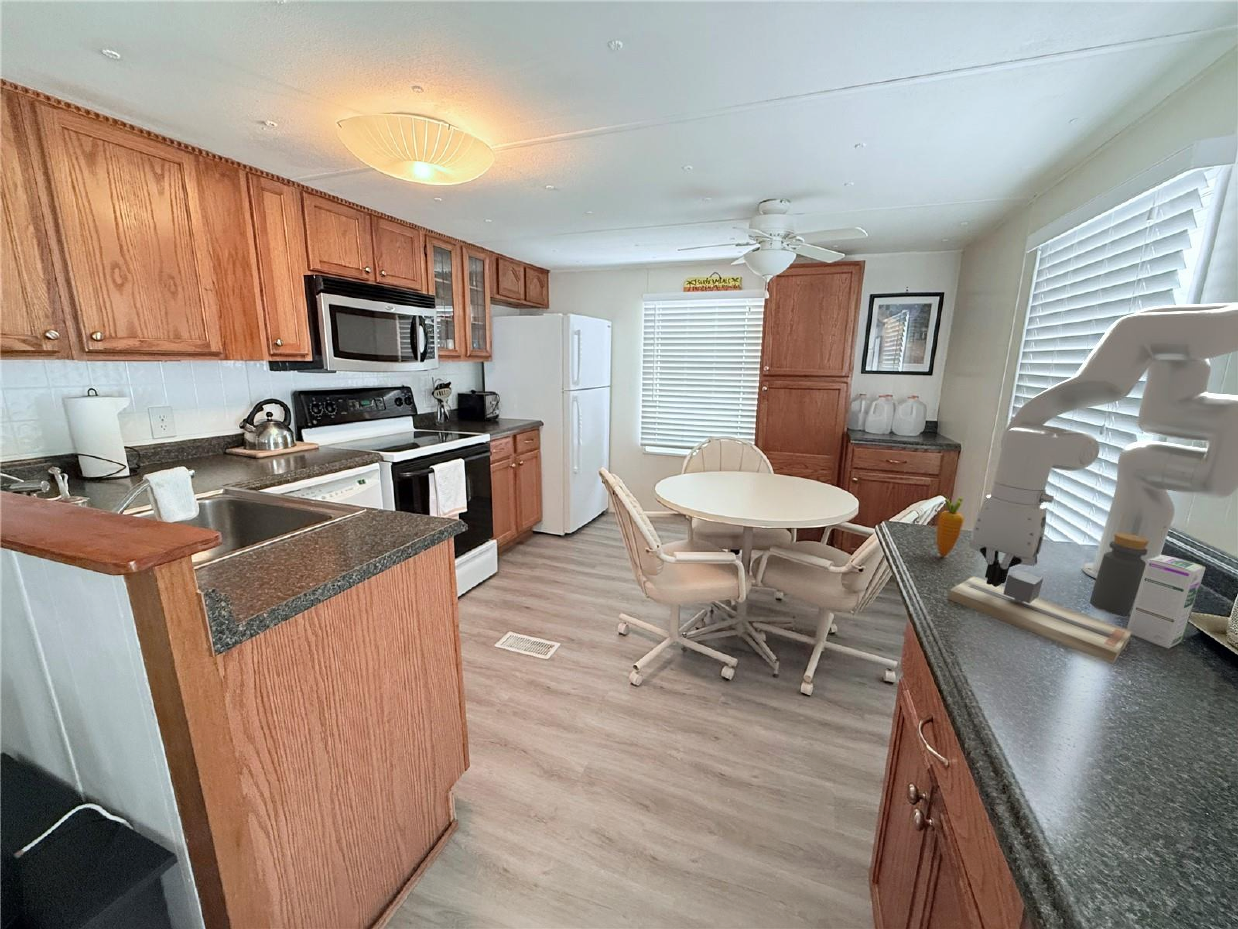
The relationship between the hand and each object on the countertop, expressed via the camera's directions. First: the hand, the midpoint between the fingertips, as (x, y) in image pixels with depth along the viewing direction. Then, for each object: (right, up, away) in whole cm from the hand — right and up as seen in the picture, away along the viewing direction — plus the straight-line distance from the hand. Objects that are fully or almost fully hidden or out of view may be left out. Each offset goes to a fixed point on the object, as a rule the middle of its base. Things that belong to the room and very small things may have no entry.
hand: (994, 583), depth 96 cm
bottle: (+24, -5, +2) cm, 25 cm away
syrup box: (+22, -8, -9) cm, 24 cm away
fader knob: (+2, -3, -3) cm, 5 cm away
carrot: (+5, +1, +23) cm, 23 cm away
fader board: (+4, -5, -4) cm, 8 cm away
